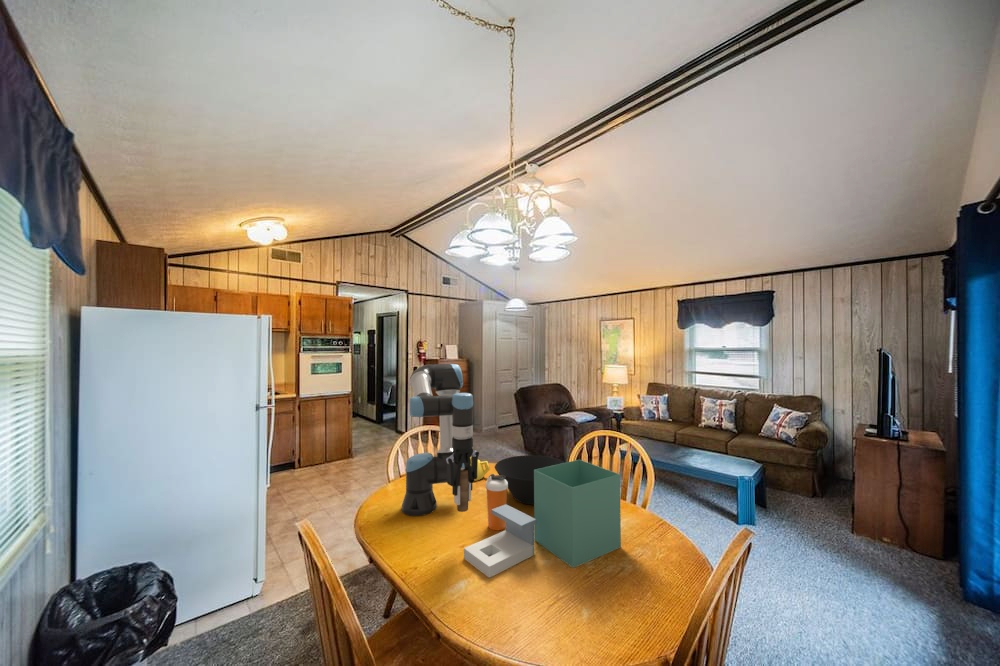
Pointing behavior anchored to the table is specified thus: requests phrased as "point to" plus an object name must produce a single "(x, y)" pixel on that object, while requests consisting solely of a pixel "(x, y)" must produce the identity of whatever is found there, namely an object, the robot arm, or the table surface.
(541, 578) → the table surface
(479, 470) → the teapot
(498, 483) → the shaker bottle
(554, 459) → the bowl
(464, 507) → the peg
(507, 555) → the socket station
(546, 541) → the box
